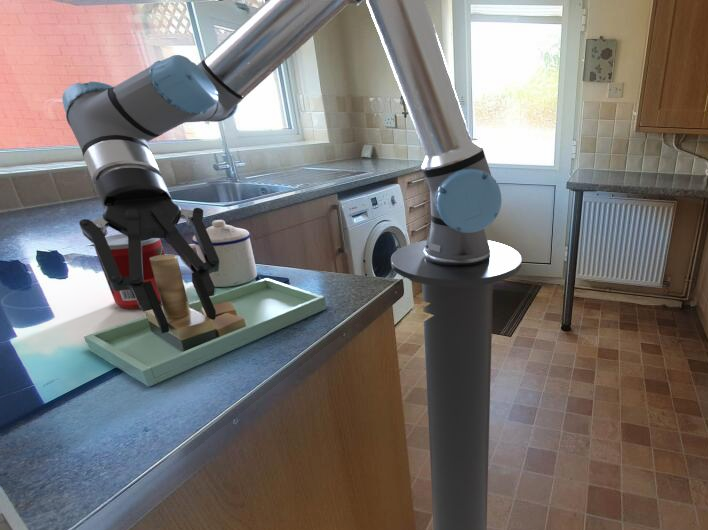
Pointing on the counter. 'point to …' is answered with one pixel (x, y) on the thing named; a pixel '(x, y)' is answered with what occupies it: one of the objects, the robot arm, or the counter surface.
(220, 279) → the teacup with lid
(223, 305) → the cork piece
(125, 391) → the counter surface
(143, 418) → the counter surface
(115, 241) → the canned food
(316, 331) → the counter surface
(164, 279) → the brush
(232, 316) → the cork piece
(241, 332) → the tray
